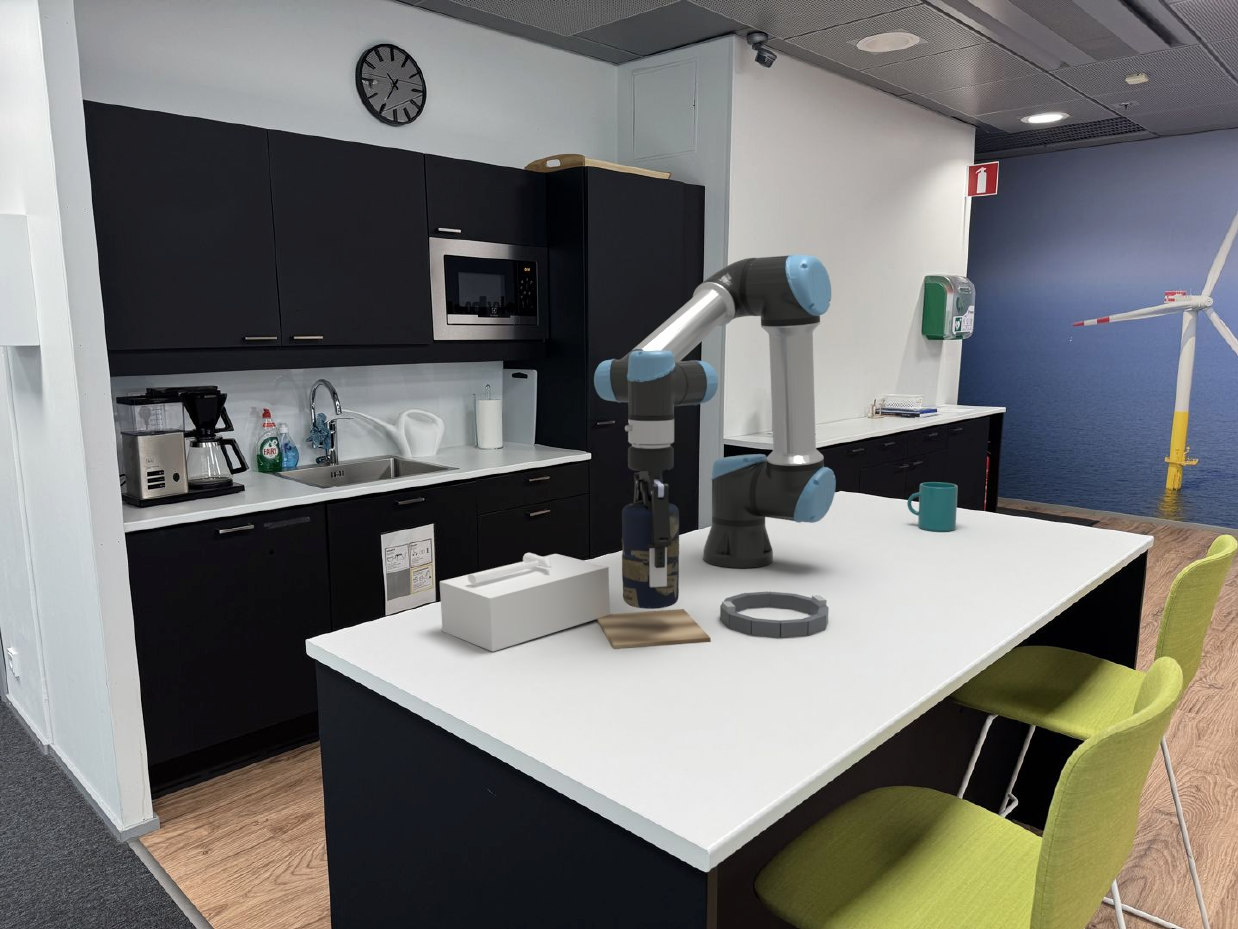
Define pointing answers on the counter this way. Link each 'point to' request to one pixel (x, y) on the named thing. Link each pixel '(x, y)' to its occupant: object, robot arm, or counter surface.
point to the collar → (775, 627)
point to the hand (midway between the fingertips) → (650, 578)
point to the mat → (651, 628)
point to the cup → (936, 506)
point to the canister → (647, 559)
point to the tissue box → (524, 600)
